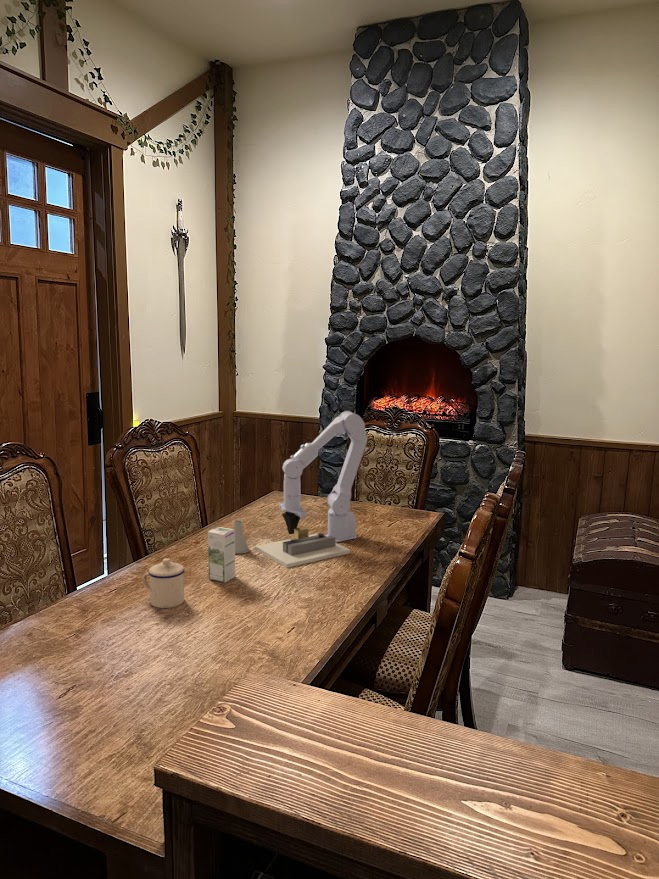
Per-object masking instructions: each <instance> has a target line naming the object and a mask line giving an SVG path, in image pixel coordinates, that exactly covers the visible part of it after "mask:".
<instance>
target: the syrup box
mask: <svg viewBox="0 0 659 879" xmlns="http://www.w3.org/2000/svg"><path fill="white" fill-rule="evenodd" d="M207 549H208V550H207V552H208V554H207V557H208V560H207V561H208V580H211V581H215V582H221V583H224V584H225V583H227V582H229V581H230V579H231V580H233V579H234V578H235V577H236V554H235V530H234V528H229V527H221V526H217V527H214V528H211V529H210V530H208V531H207Z"/></svg>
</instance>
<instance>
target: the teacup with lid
mask: <svg viewBox="0 0 659 879" xmlns="http://www.w3.org/2000/svg"><path fill="white" fill-rule="evenodd" d="M185 571H186V570H185V567H184V566H183V565H182V564H180V563H177V562H173V561H171V559H170V558H162V561H161V562H160V563H157V564H154V565H153V566H151V567H149V569H148V571H147V572H145V573H144V574H143V575H142V578H141V581H142V585H143V586H144V588H145V589H146V590H147V591H149V595H150V596H149V598H150V604H151V606H153V607H154V608H157V609H171V608H175V607H178V606H180V605H182V604H183V603H184V601H185V576H184V574H185ZM147 576H149V583H148V581H147Z"/></svg>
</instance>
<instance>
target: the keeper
mask: <svg viewBox="0 0 659 879" xmlns="http://www.w3.org/2000/svg"><path fill="white" fill-rule="evenodd" d="M308 535H309V528H308V527H306V526H302V527H297V528H296V529H294V534H293V536H294V537H293V538H294V540H296V539H301V538H306V537H308Z"/></svg>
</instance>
